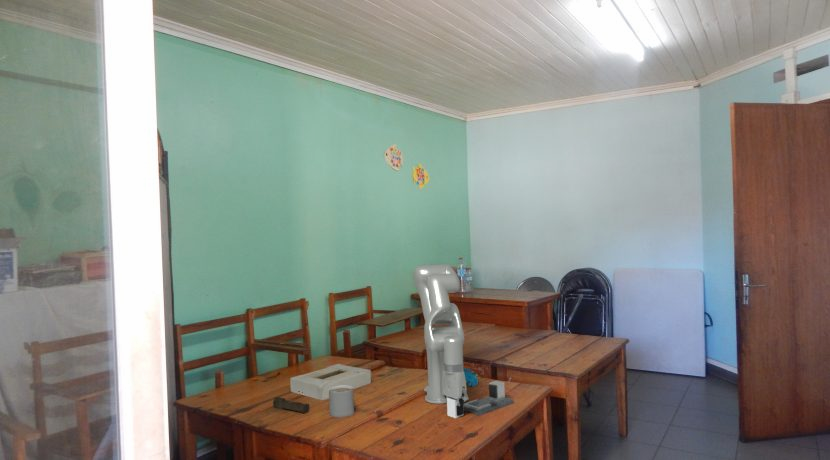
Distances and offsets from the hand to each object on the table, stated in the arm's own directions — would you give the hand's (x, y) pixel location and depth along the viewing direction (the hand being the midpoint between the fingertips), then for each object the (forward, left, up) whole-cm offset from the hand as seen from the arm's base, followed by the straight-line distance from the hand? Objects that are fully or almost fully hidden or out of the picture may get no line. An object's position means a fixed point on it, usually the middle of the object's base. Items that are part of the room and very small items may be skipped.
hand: (455, 412), depth 207 cm
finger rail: (+2, +17, -1) cm, 17 cm away
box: (-70, -15, -2) cm, 71 cm away
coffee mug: (-36, -29, -1) cm, 46 cm away
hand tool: (-55, -45, -1) cm, 71 cm away
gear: (-25, +34, -1) cm, 42 cm away
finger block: (0, 0, -1) cm, 1 cm away
